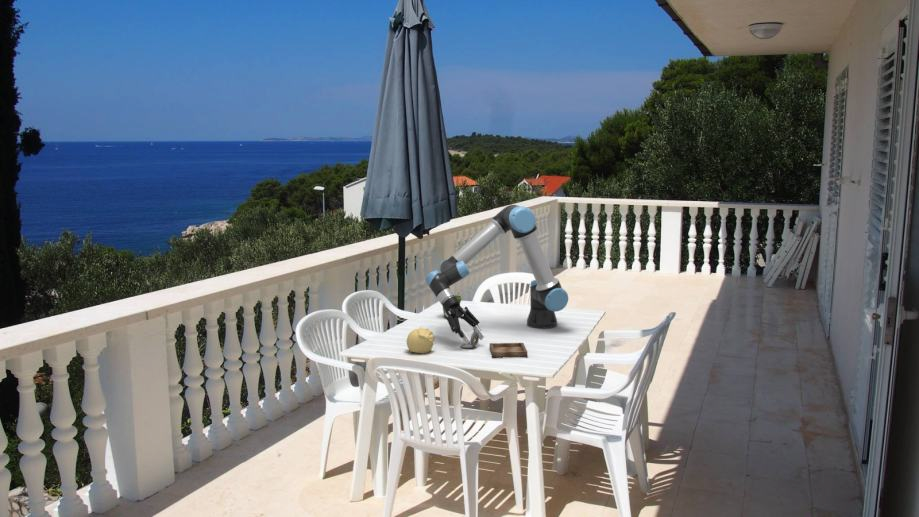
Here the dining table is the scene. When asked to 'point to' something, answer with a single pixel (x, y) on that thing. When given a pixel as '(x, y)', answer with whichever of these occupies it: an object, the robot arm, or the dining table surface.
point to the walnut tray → (508, 350)
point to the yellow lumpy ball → (420, 340)
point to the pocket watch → (472, 340)
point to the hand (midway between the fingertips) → (475, 340)
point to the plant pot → (458, 300)
